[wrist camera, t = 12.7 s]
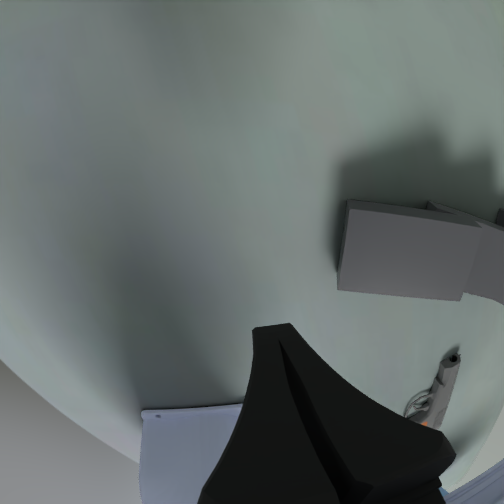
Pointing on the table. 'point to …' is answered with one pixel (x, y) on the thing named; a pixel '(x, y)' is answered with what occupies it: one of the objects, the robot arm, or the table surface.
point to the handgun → (438, 395)
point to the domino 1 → (406, 251)
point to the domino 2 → (483, 257)
